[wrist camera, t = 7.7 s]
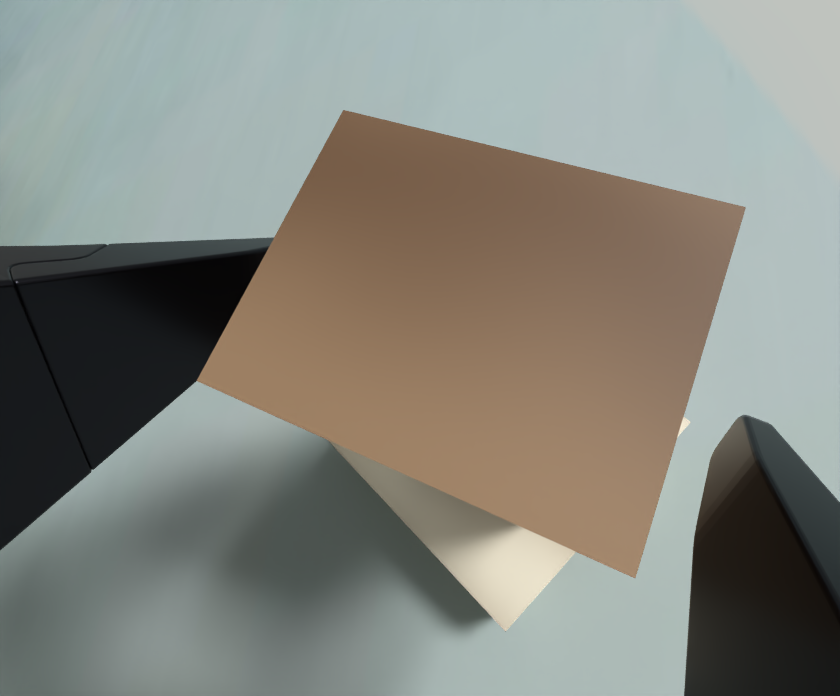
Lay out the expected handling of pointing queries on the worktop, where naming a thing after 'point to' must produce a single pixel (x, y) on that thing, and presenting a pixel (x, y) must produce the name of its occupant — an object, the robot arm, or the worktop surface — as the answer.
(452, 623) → the worktop surface
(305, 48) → the worktop surface
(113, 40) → the worktop surface
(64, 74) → the worktop surface
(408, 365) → the walnut block
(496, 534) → the birch block
